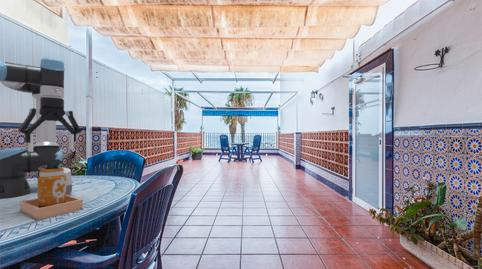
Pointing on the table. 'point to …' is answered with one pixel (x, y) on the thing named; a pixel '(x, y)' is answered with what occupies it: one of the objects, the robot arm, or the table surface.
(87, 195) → the table surface
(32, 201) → the tray
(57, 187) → the canister
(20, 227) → the table surface
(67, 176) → the smart speaker
